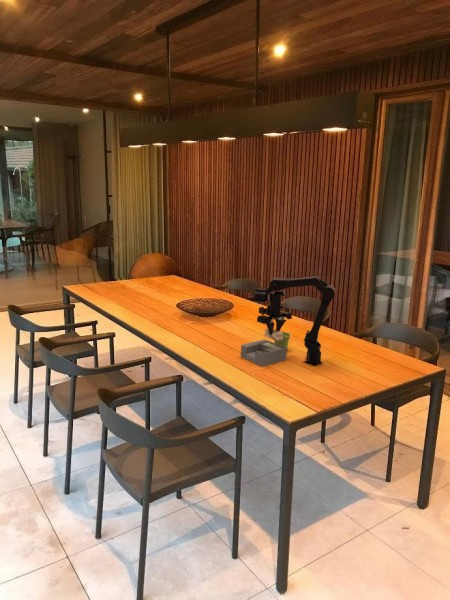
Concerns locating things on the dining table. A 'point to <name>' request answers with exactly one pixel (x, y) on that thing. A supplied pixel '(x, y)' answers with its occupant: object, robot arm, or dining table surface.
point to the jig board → (263, 352)
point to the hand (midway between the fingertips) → (273, 334)
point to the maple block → (274, 335)
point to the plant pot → (284, 339)
